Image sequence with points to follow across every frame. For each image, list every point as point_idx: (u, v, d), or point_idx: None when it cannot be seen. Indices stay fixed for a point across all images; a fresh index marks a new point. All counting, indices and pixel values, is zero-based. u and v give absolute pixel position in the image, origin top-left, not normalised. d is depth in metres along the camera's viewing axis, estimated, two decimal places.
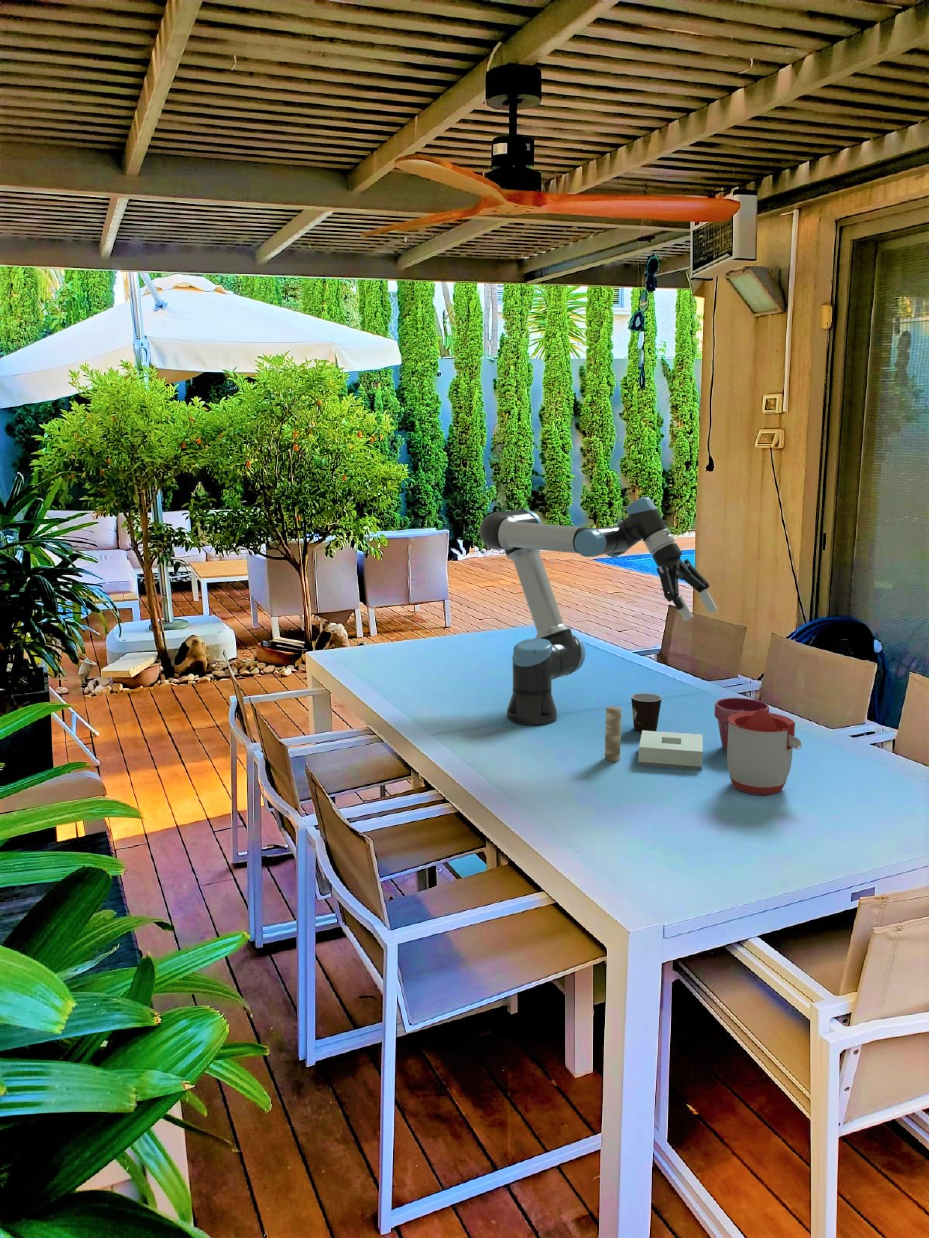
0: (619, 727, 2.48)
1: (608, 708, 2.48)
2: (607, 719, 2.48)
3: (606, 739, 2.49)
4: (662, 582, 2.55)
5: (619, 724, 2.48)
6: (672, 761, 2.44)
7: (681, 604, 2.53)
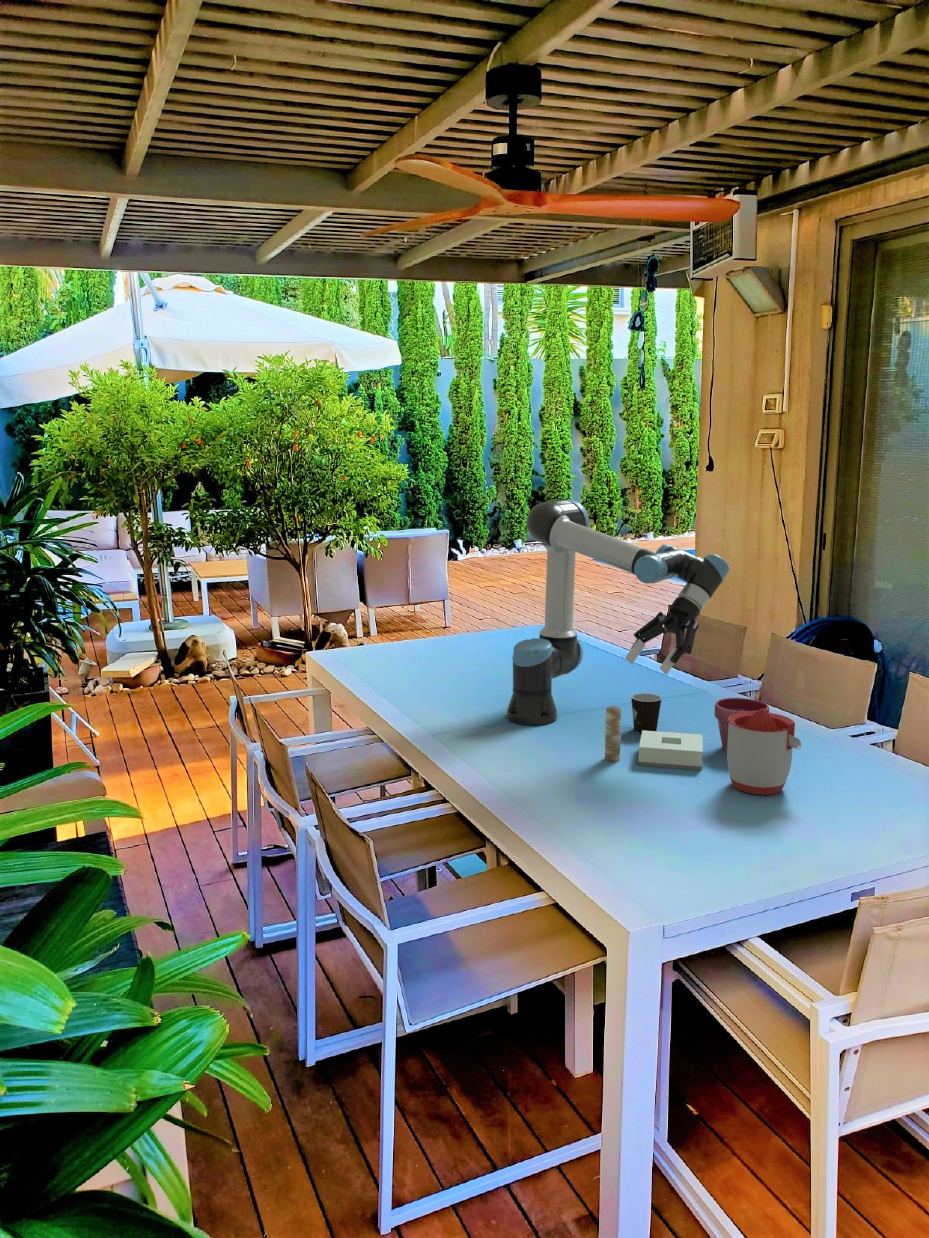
0: (619, 727, 2.48)
1: (608, 708, 2.48)
2: (607, 719, 2.48)
3: (606, 739, 2.49)
4: (690, 634, 2.47)
5: (619, 724, 2.48)
6: (672, 761, 2.44)
7: None
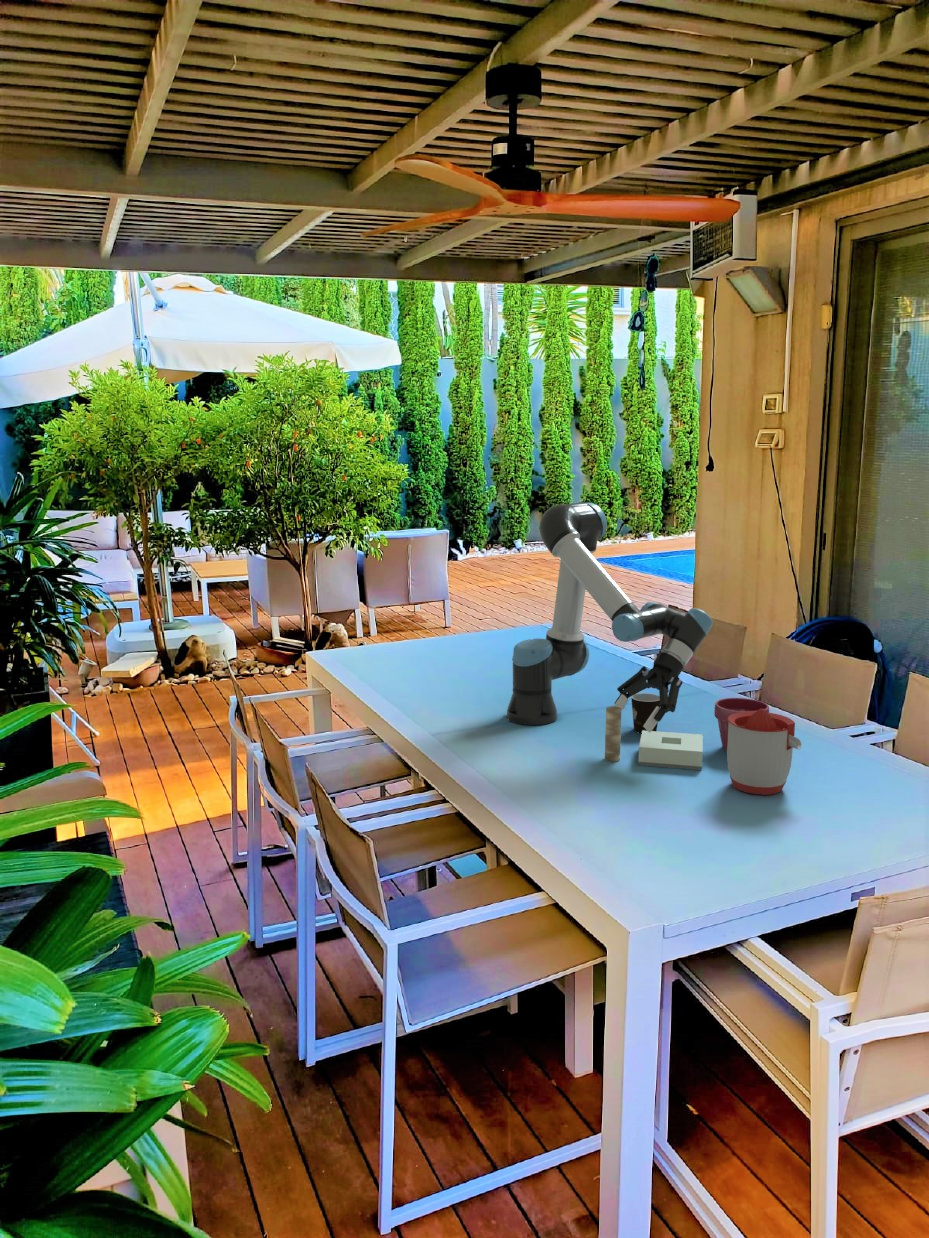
0: (619, 727, 2.48)
1: (608, 708, 2.48)
2: (607, 719, 2.48)
3: (606, 739, 2.49)
4: (673, 692, 2.45)
5: (619, 724, 2.48)
6: (672, 761, 2.44)
7: None
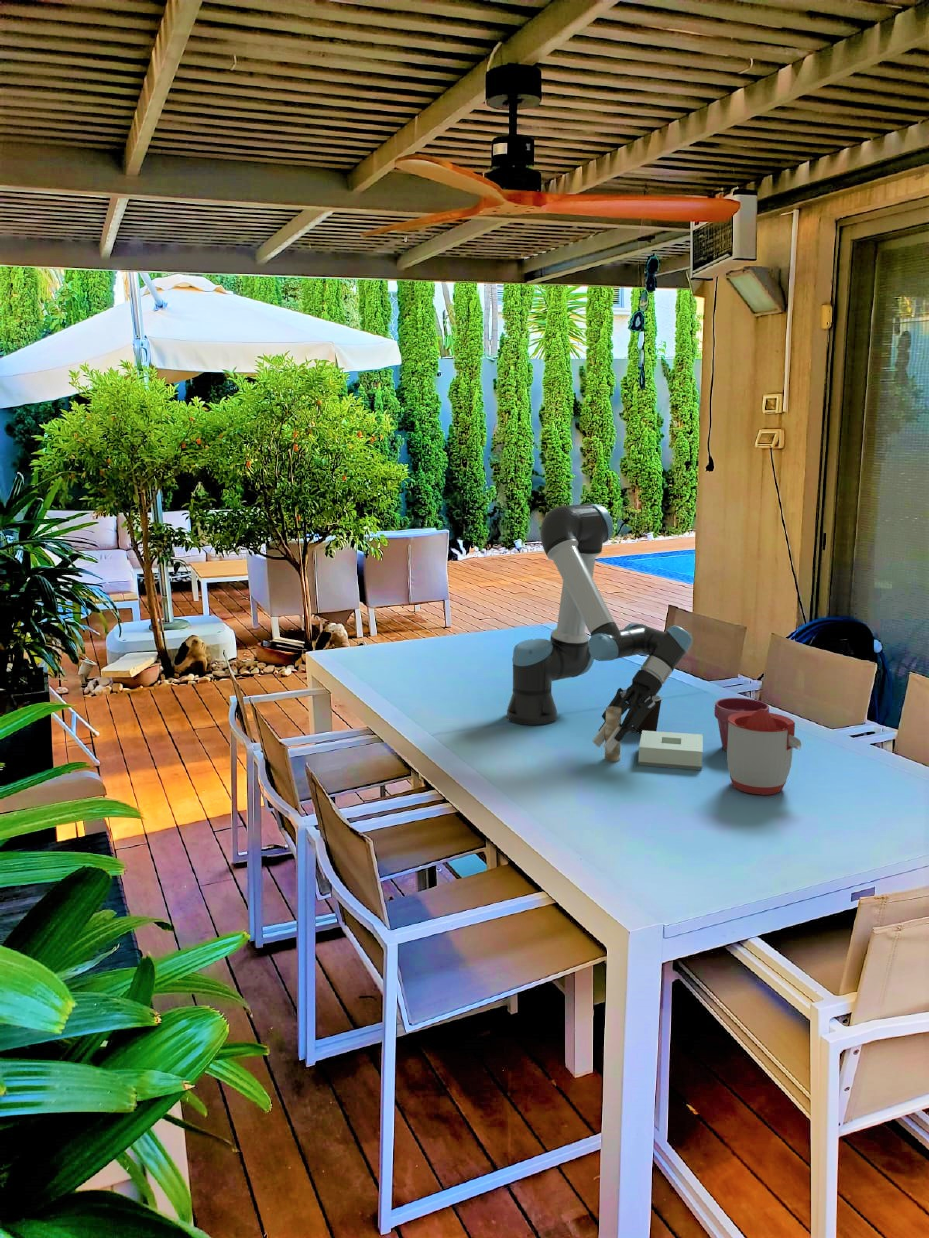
0: None
1: (608, 708, 2.48)
2: (607, 719, 2.48)
3: (606, 739, 2.49)
4: (640, 714, 2.46)
5: None
6: (672, 761, 2.44)
7: None
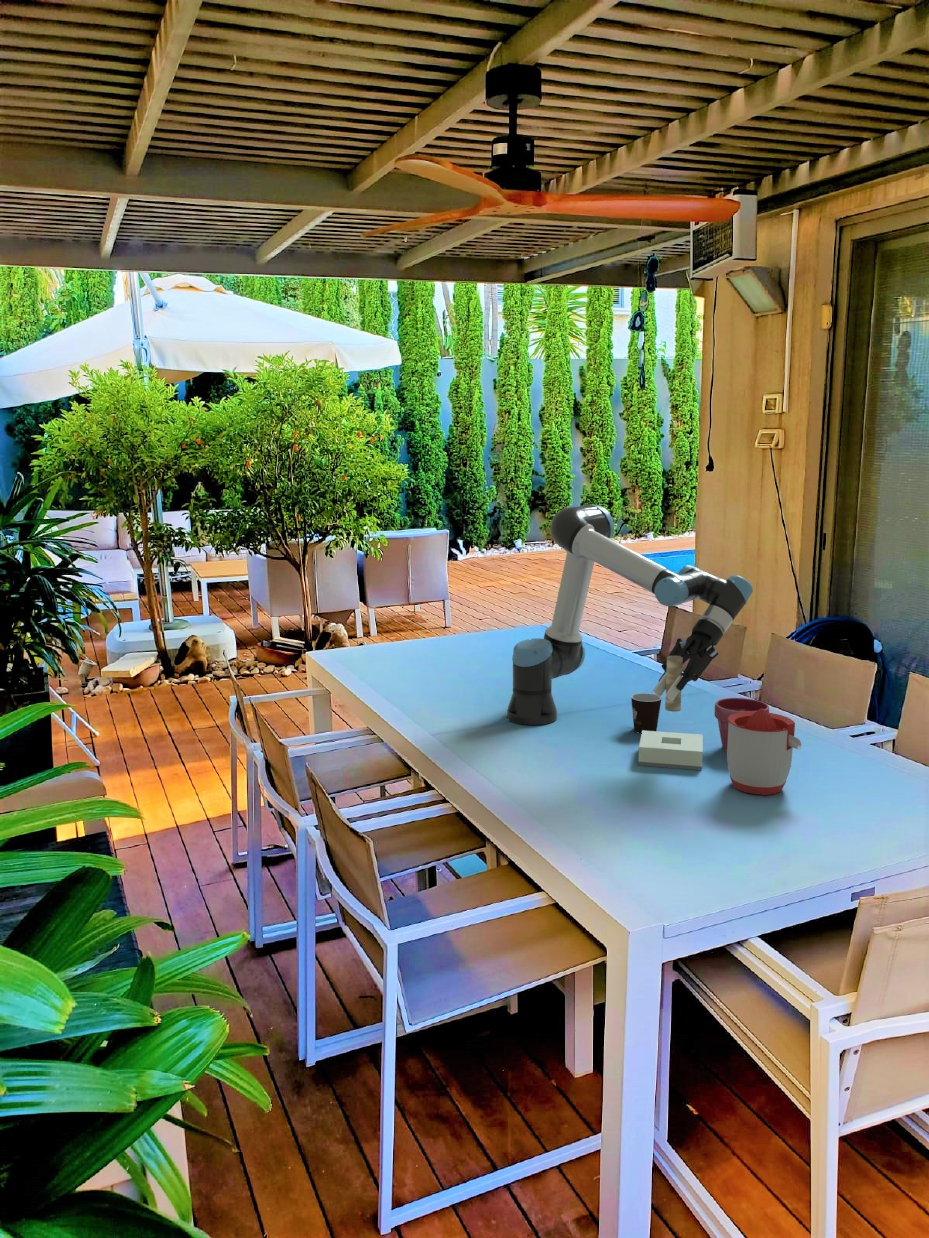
0: None
1: (669, 657, 2.46)
2: (668, 668, 2.45)
3: (667, 688, 2.47)
4: (702, 662, 2.43)
5: (680, 673, 2.45)
6: (672, 761, 2.44)
7: None
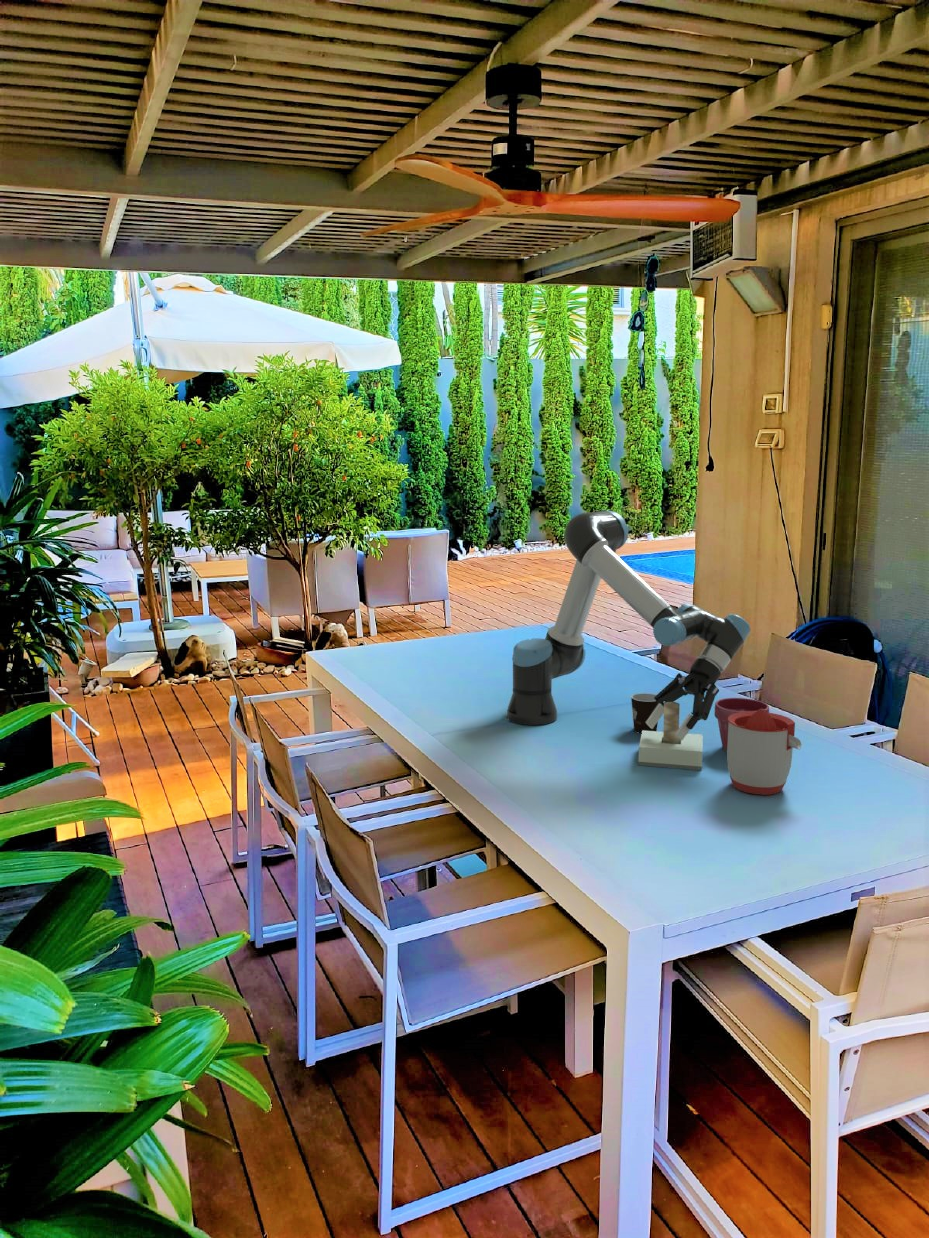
0: (677, 722, 2.48)
1: (666, 703, 2.49)
2: (665, 714, 2.48)
3: (664, 735, 2.49)
4: (708, 700, 2.44)
5: (677, 719, 2.48)
6: (672, 761, 2.44)
7: None
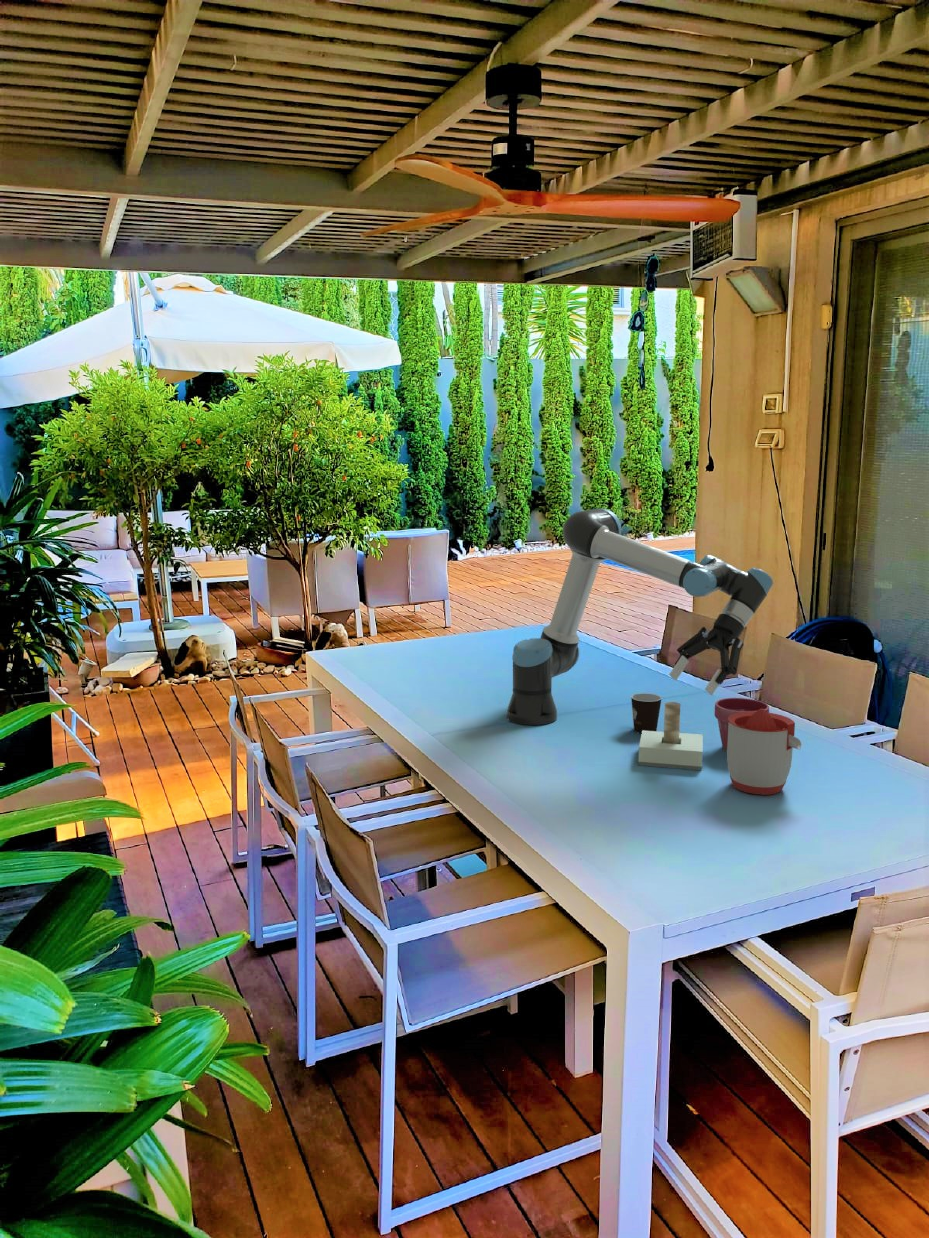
0: (678, 723, 2.48)
1: (667, 704, 2.48)
2: (666, 715, 2.48)
3: (665, 735, 2.49)
4: (735, 654, 2.47)
5: (678, 719, 2.48)
6: (672, 761, 2.44)
7: None
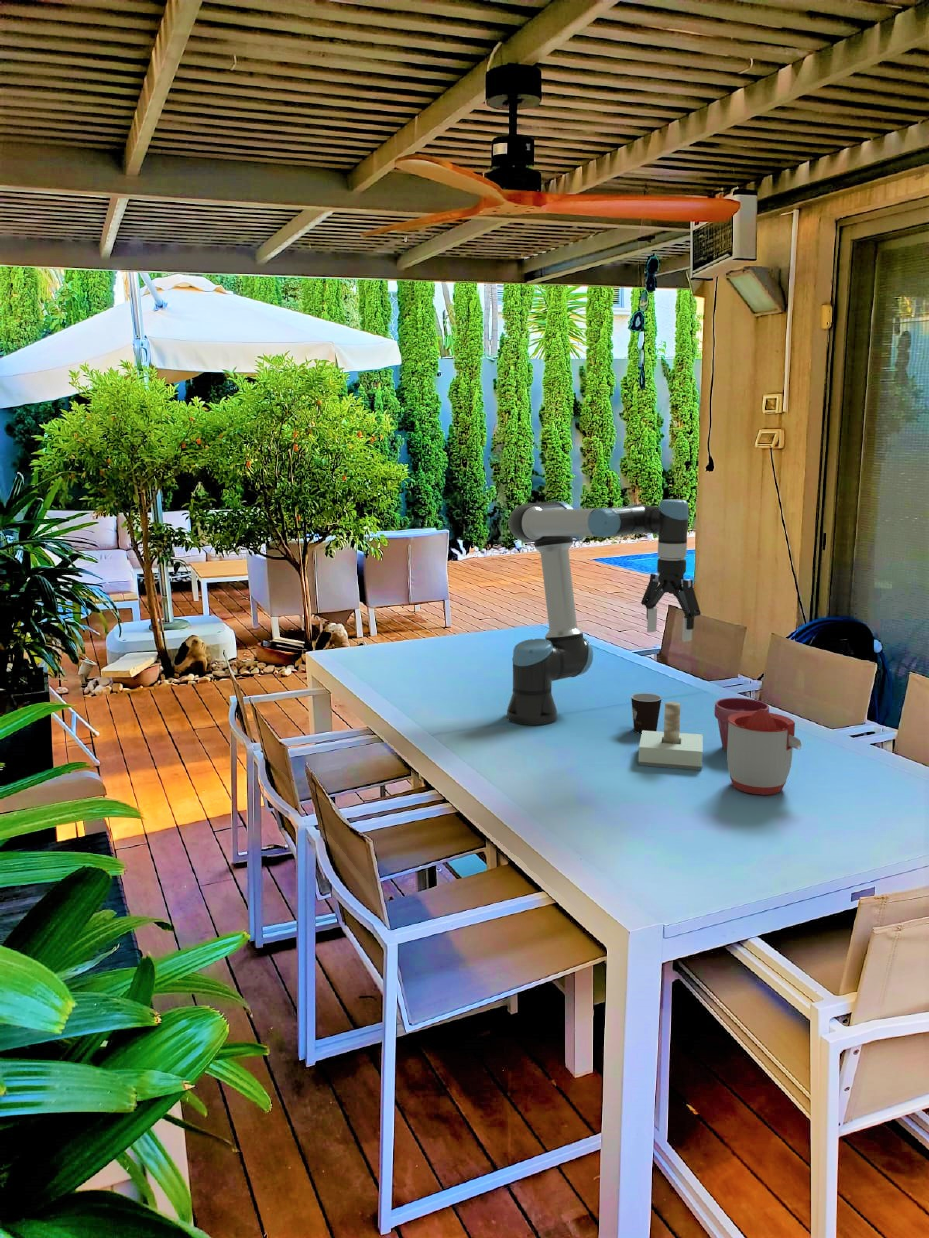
0: (678, 723, 2.48)
1: (667, 704, 2.48)
2: (666, 715, 2.48)
3: (665, 735, 2.49)
4: (690, 597, 2.46)
5: (678, 719, 2.48)
6: (672, 761, 2.44)
7: None
